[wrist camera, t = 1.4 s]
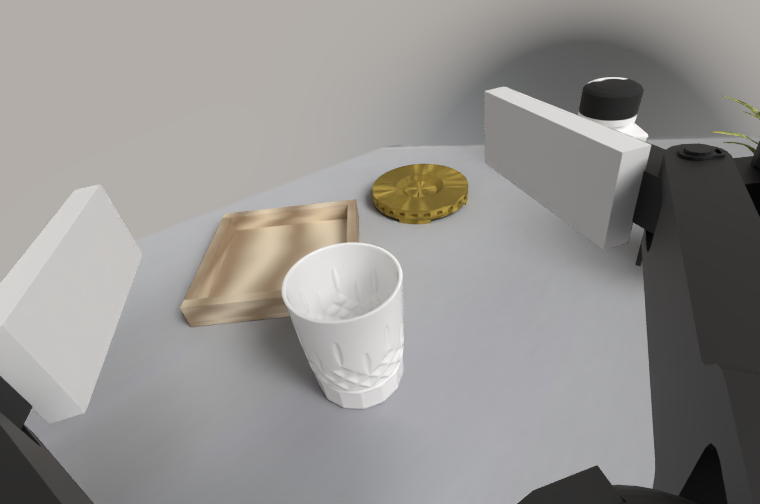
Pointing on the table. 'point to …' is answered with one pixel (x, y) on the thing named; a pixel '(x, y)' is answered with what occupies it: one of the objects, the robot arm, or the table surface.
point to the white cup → (349, 320)
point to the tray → (262, 259)
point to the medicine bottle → (613, 104)
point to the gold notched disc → (420, 193)
